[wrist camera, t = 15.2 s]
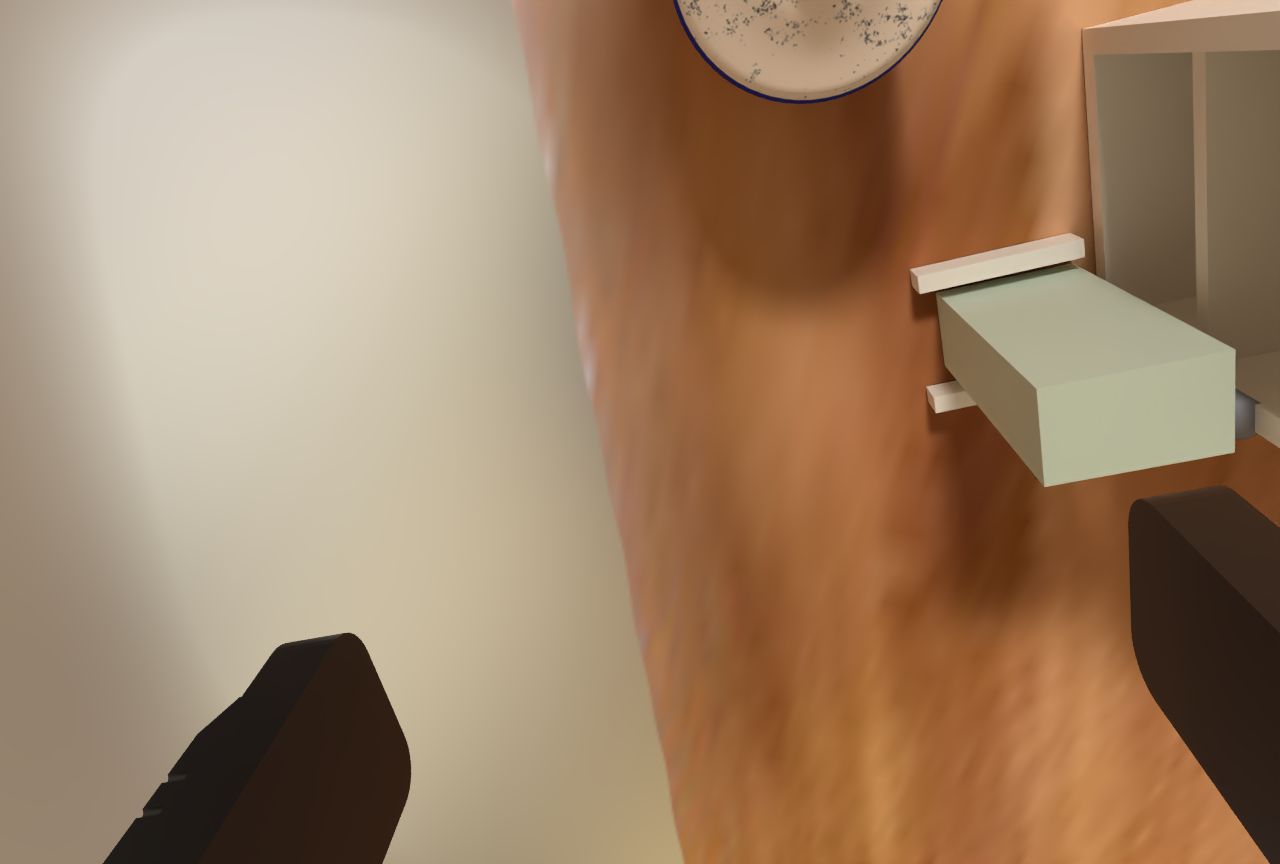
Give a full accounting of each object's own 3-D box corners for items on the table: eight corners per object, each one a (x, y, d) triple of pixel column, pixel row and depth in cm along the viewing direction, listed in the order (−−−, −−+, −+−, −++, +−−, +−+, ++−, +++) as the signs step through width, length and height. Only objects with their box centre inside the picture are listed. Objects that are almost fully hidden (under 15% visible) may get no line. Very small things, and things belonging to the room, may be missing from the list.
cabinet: (883, 80, 37) (1007, 91, 22) (1348, -41, 34) (1841, -121, 20) (928, 402, 42) (1052, 582, 28) (1333, 318, 40) (1711, 469, 25)
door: (935, 292, 40) (1036, 388, 28) (1071, 263, 39) (1235, 349, 27) (947, 384, 42) (1046, 512, 30) (1078, 358, 41) (1234, 479, 29)
